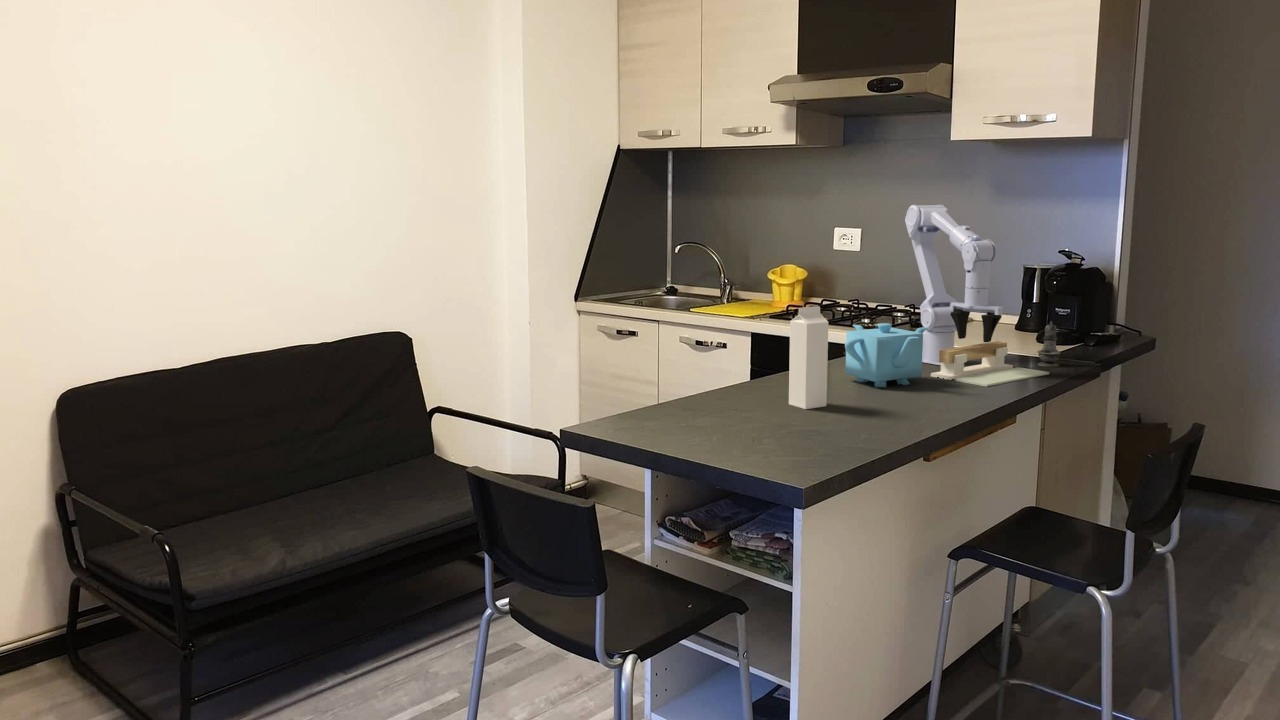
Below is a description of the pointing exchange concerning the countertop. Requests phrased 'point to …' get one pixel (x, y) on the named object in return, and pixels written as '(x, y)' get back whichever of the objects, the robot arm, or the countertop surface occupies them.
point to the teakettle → (884, 354)
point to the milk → (808, 359)
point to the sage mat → (1001, 376)
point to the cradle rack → (960, 371)
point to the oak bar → (971, 351)
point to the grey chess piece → (1049, 347)
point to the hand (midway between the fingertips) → (974, 340)
